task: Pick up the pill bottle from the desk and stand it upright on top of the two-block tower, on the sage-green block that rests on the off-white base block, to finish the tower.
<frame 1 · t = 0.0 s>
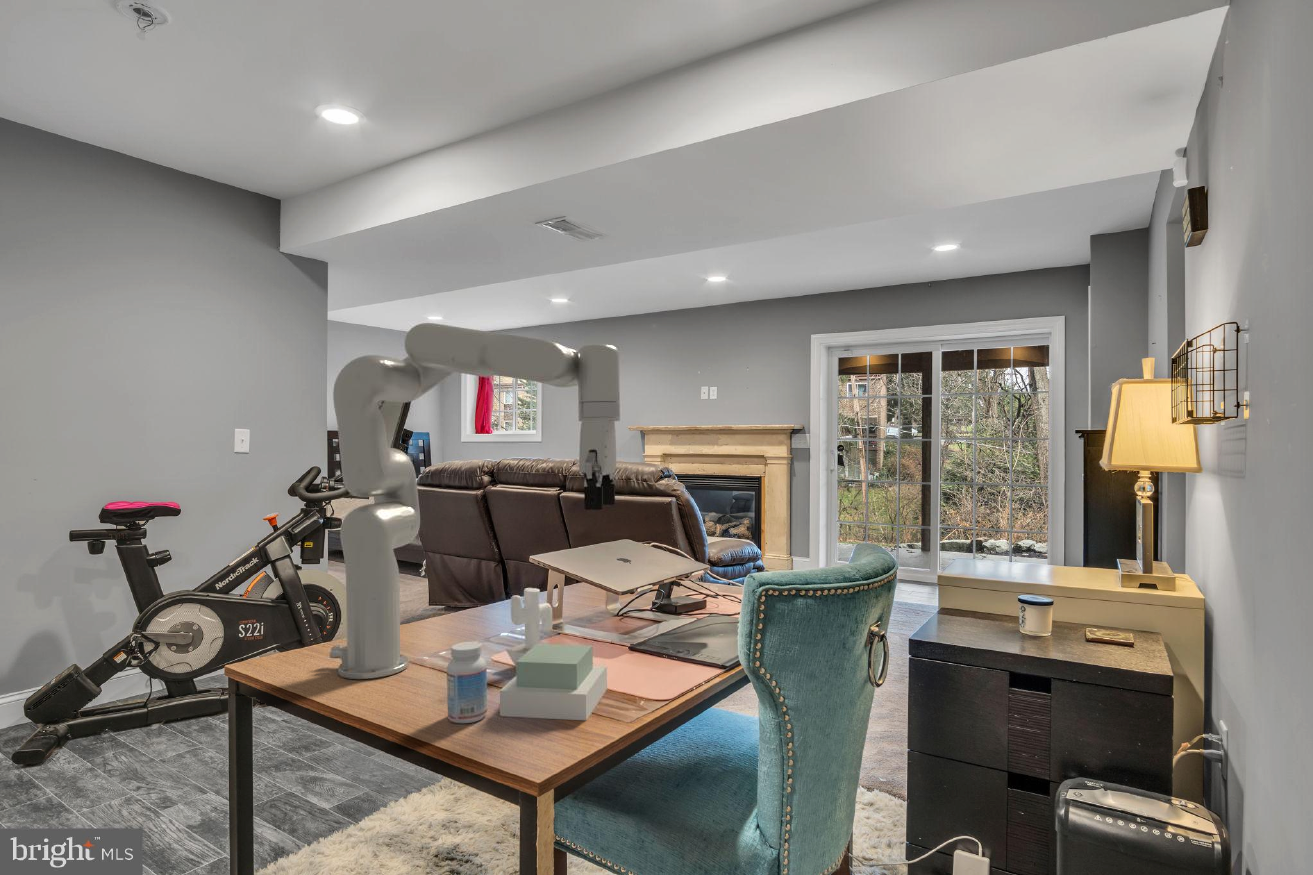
hand: (600, 506, 128), 31 cm above the table, tool pointing down, fingers open, 9 cm apart
top block: (555, 677, 116), resting on base block
base block: (556, 701, 116), on the table
figurine: (532, 667, 135), on the table
pill bottle: (467, 718, 110), on the table
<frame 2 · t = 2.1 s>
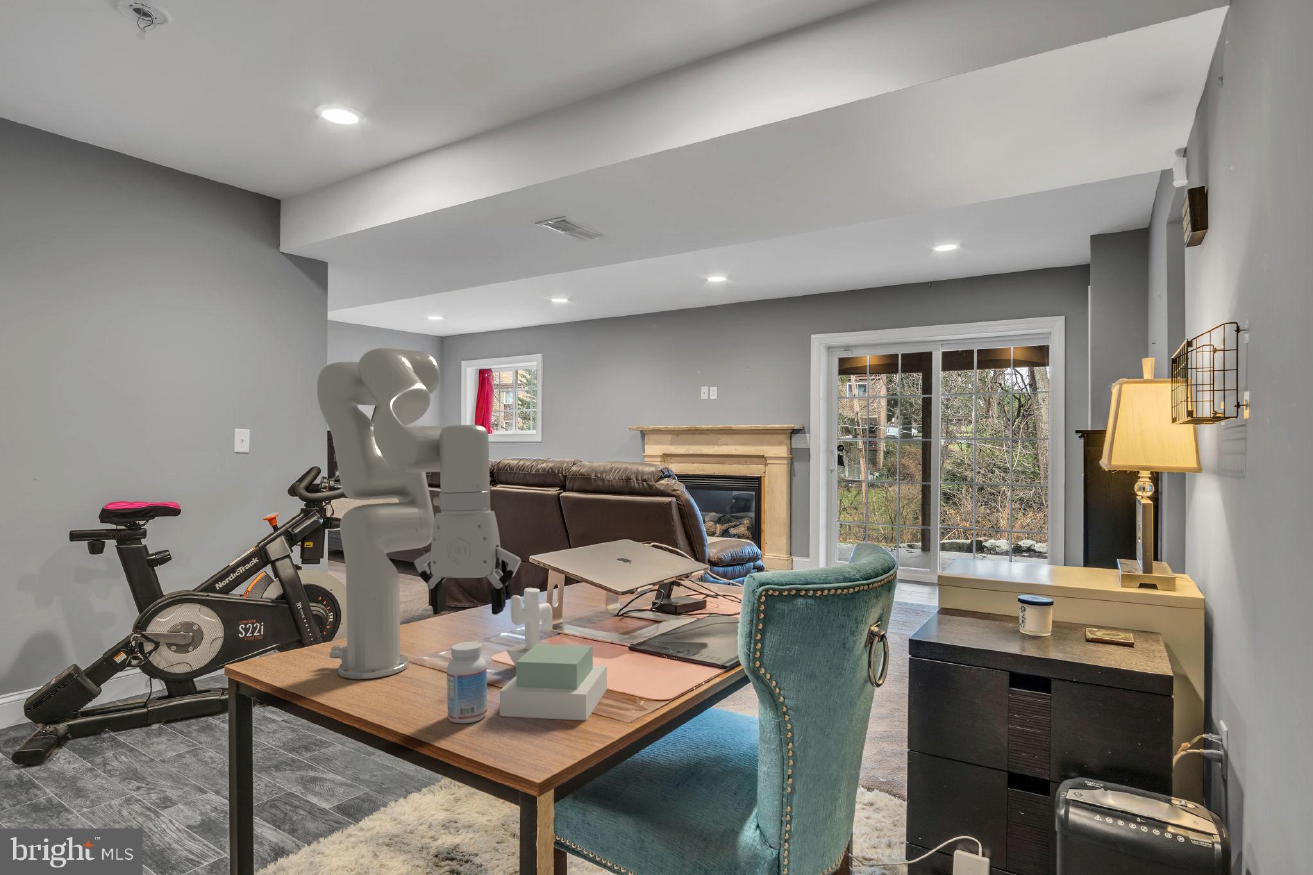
hand: (468, 612, 110), 17 cm above the table, tool pointing down, fingers open, 9 cm apart
nothing on the table moved.
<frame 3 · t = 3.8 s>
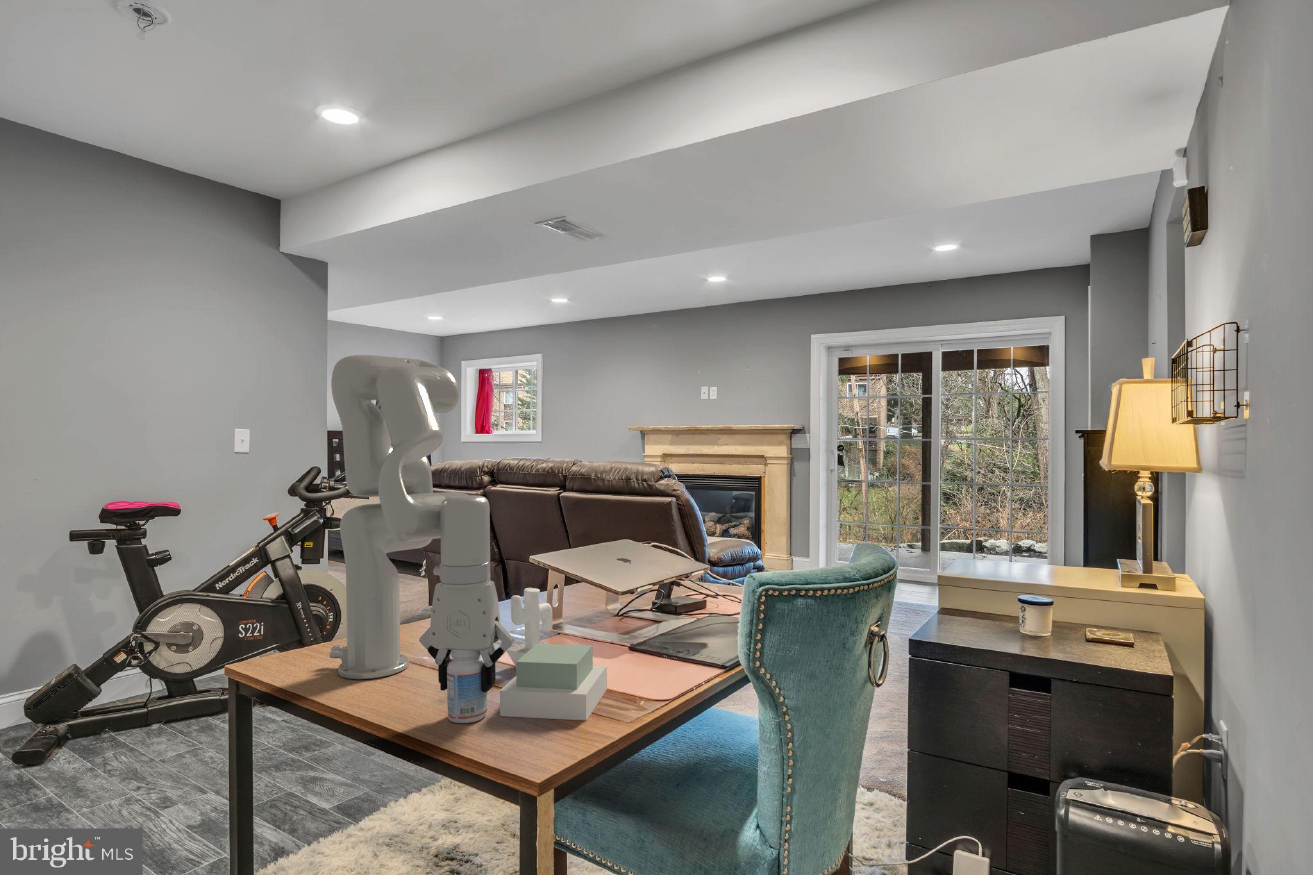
hand: (467, 687, 110), 5 cm above the table, tool pointing down, fingers closed on pill bottle, 6 cm apart
pill bottle: (467, 718, 110), on the table, touching gripper
everything else where it was.
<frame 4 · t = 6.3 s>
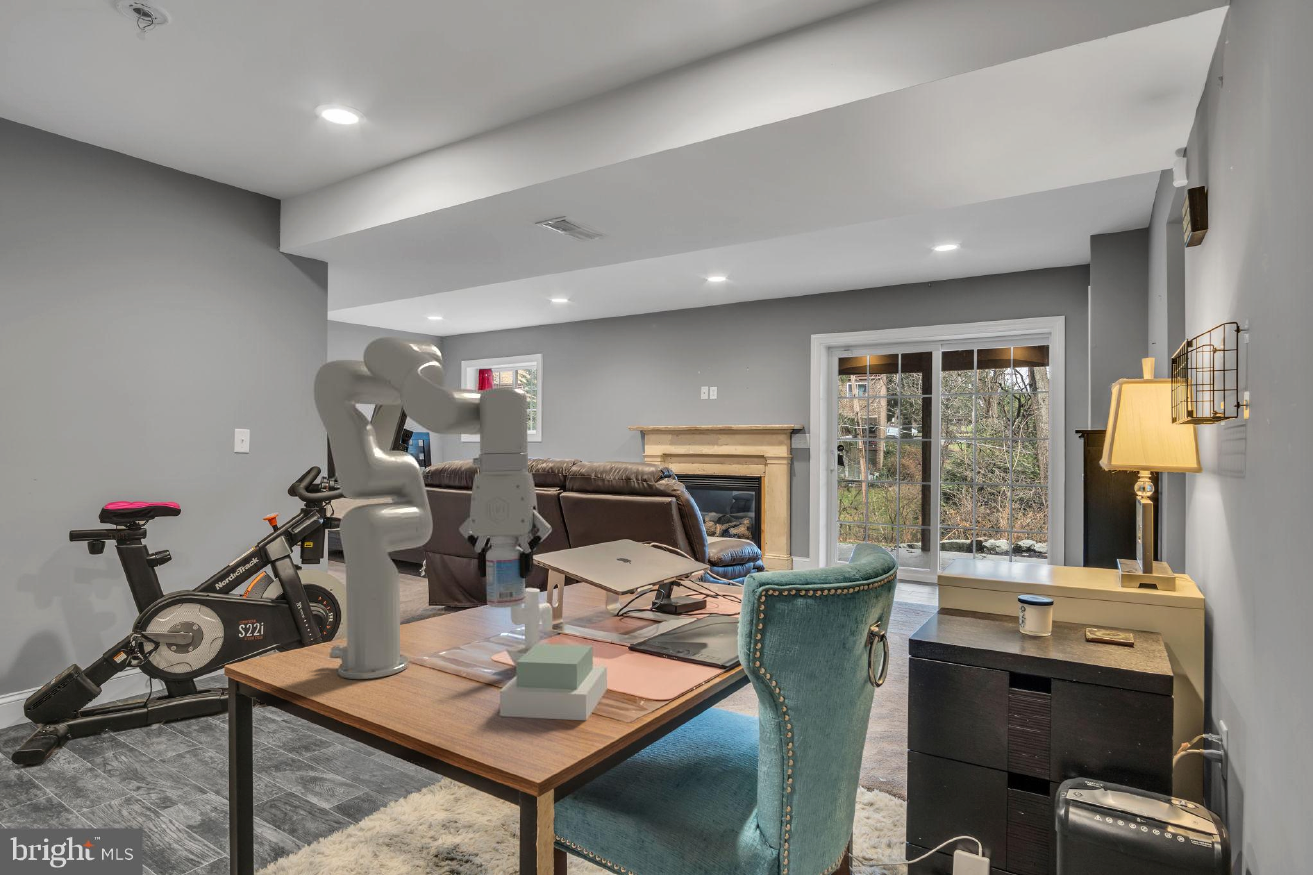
hand: (505, 575, 113), 22 cm above the table, tool pointing down, fingers closed on pill bottle, 6 cm apart
pill bottle: (505, 605, 113), point 17 cm above the table, touching gripper
everything else where it was.
when the fingers open (14 cm above the table, at t = 8.6 s): pill bottle drops 1 cm, resting on top block.
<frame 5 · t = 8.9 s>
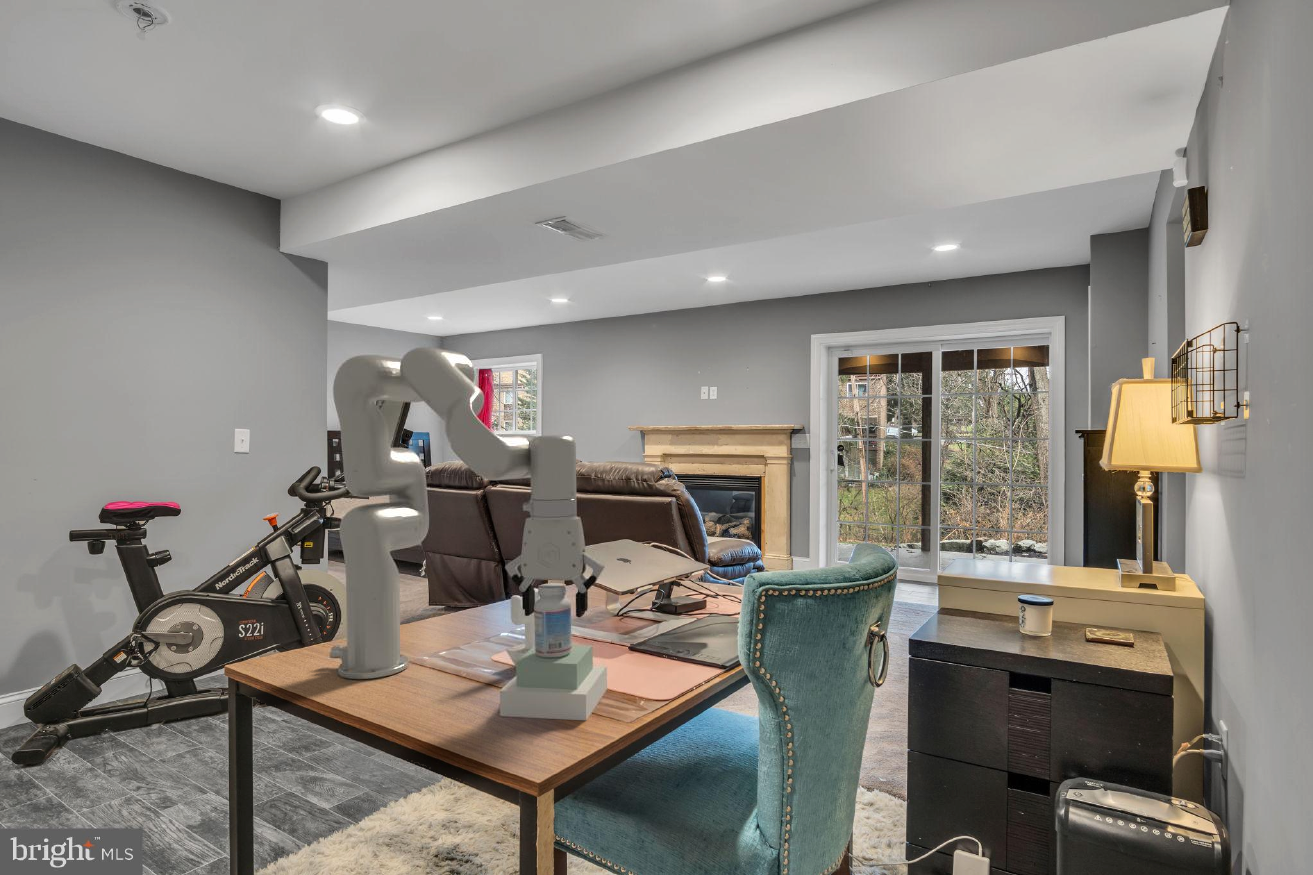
hand: (555, 614, 116), 14 cm above the table, tool pointing down, fingers open, 8 cm apart
pill bottle: (553, 654, 116), point 8 cm above the table, touching top block
everything else where it was.
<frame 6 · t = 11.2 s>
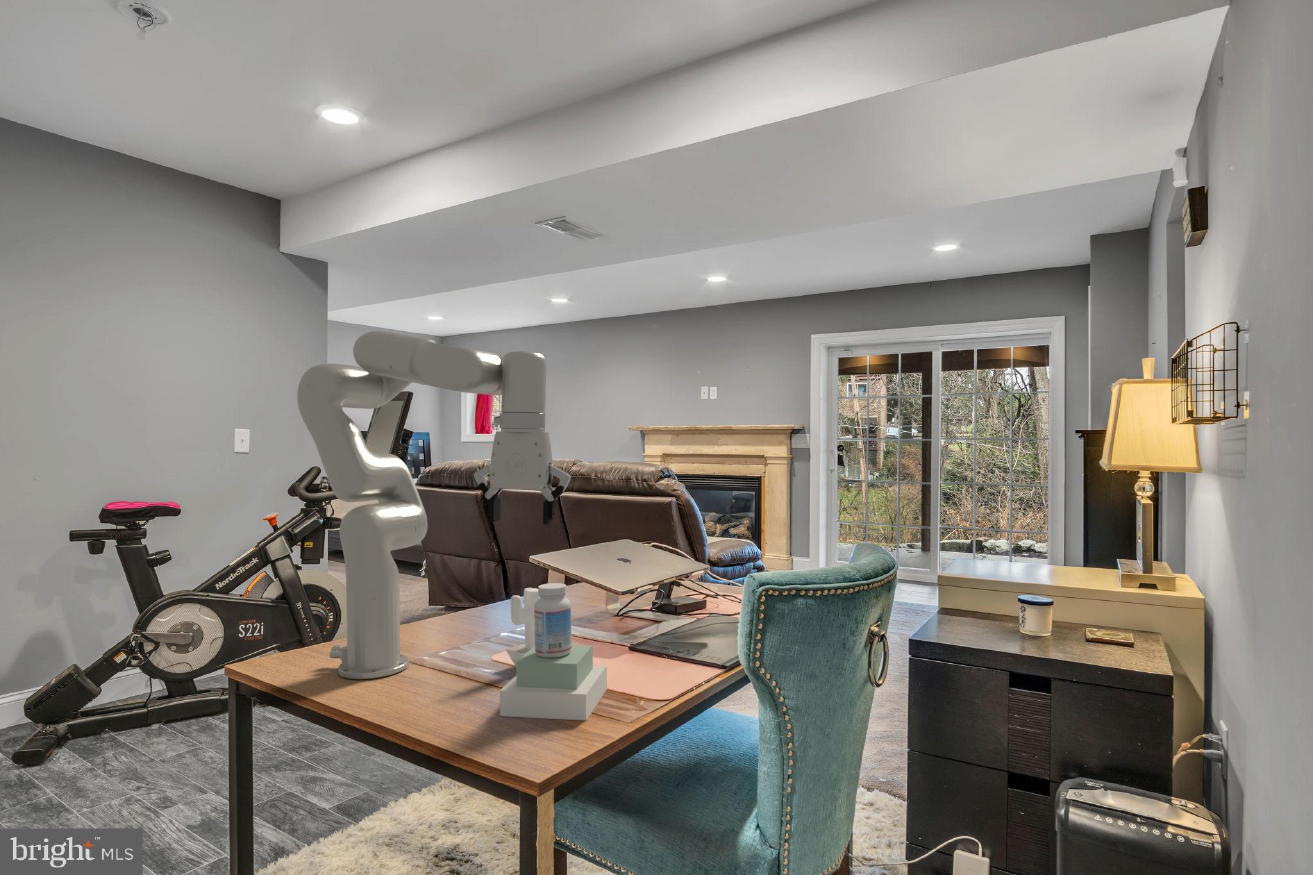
hand: (521, 522, 121), 29 cm above the table, tool pointing down, fingers open, 9 cm apart
nothing on the table moved.
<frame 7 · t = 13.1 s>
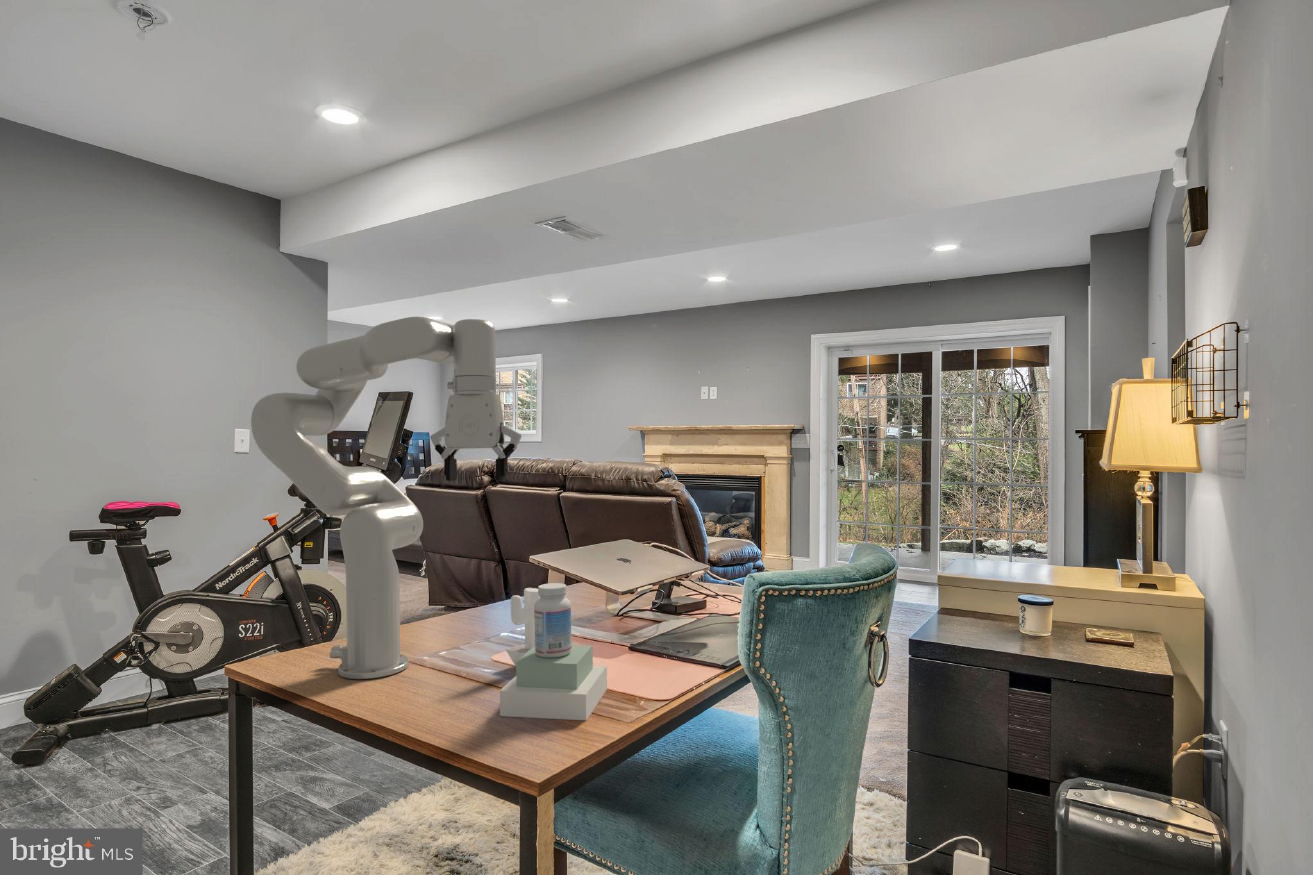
hand: (476, 480, 129), 36 cm above the table, tool pointing down, fingers open, 9 cm apart
nothing on the table moved.
at the end: pill bottle 0.4 cm off-centre on the top block, point 3.8 cm above the top block's base; pill bottle tilted 0°; the gripper is holding nothing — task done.
